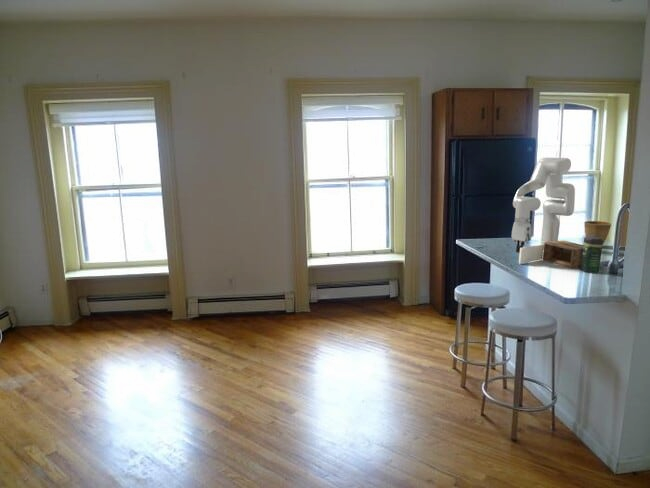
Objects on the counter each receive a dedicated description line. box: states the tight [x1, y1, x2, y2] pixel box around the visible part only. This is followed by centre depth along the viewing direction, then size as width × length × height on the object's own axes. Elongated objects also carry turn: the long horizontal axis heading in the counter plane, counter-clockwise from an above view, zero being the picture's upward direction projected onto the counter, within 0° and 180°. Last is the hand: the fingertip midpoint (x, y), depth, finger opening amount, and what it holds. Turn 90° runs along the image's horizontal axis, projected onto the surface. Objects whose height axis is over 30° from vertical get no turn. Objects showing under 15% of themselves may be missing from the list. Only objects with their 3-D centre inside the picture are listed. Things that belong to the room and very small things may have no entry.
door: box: [518, 244, 544, 265], centre depth 248 cm, size 2×19×9 cm, turn 118°
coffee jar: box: [579, 235, 604, 274], centre depth 229 cm, size 10×8×19 cm
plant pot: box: [583, 220, 612, 245], centre depth 284 cm, size 15×15×16 cm
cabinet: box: [542, 239, 583, 270], centre depth 245 cm, size 14×20×11 cm
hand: (519, 252), depth 248 cm, fingers closed
